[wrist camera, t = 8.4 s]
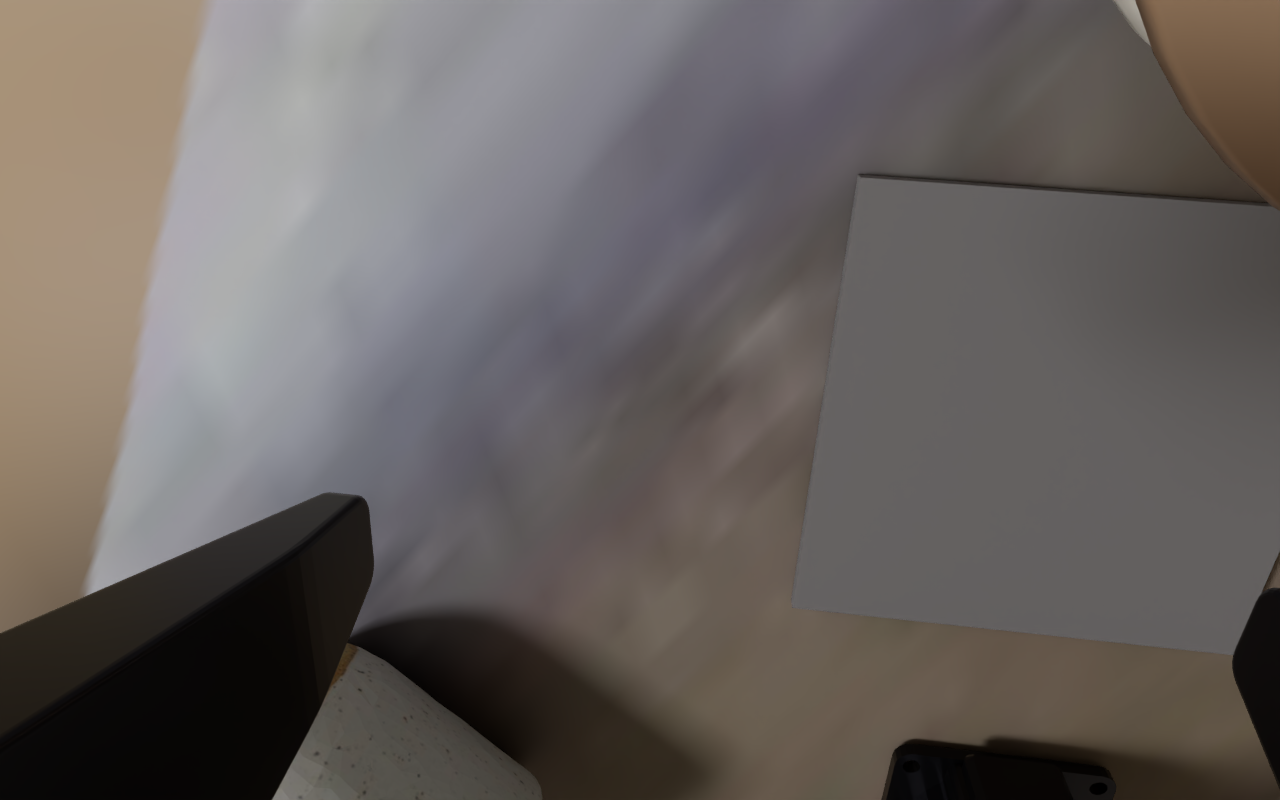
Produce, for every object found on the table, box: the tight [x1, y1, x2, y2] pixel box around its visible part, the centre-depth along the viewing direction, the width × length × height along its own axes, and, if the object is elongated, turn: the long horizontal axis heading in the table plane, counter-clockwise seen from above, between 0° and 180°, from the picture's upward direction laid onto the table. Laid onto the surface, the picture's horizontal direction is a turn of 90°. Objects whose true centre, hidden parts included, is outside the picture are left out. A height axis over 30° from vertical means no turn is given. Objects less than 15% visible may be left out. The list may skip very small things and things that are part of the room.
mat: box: [791, 174, 1280, 655], centre depth 21 cm, size 12×12×1 cm
